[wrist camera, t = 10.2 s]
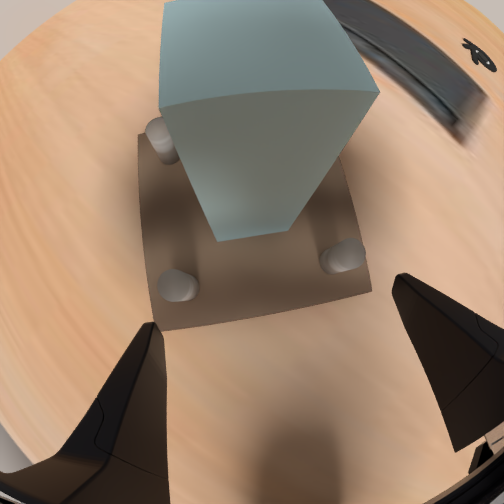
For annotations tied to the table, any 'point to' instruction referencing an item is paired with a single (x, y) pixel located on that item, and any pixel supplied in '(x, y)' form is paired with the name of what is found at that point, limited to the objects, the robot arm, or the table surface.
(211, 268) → the pin stand
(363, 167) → the table surface
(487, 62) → the black flat pronged piece
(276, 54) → the block
